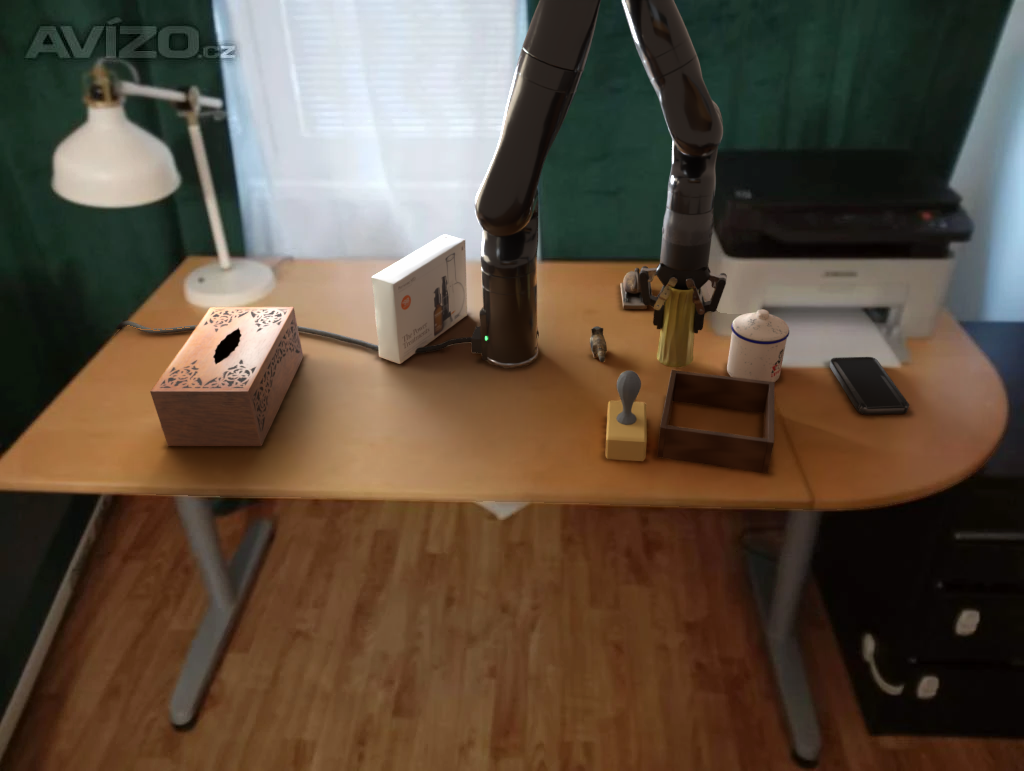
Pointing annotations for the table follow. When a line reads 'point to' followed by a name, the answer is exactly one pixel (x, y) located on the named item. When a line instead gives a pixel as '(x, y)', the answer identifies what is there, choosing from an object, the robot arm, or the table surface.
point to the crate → (717, 444)
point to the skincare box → (420, 297)
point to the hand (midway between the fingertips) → (677, 328)
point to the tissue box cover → (229, 377)
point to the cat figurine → (598, 343)
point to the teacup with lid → (757, 346)
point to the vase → (677, 329)
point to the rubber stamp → (626, 421)
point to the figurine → (632, 291)
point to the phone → (868, 386)
